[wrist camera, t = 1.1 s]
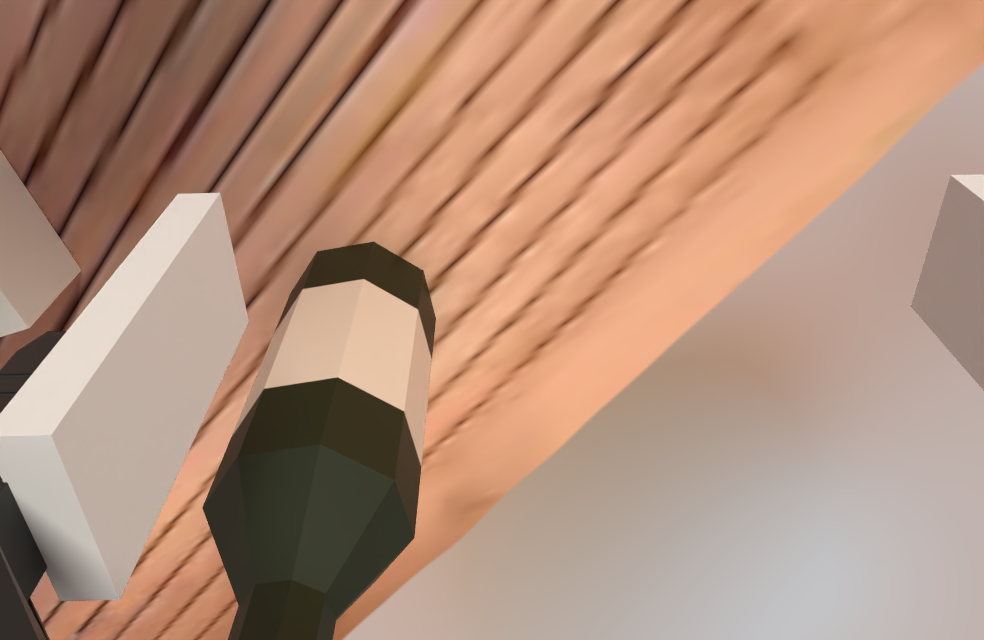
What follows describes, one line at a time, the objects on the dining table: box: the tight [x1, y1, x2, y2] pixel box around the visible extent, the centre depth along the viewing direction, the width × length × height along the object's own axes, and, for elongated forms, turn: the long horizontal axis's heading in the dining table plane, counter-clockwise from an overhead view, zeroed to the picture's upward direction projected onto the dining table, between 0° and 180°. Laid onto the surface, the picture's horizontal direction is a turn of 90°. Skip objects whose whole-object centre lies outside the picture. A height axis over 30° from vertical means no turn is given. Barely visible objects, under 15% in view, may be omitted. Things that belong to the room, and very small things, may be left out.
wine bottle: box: [203, 242, 436, 640], centre depth 33 cm, size 8×8×30 cm
